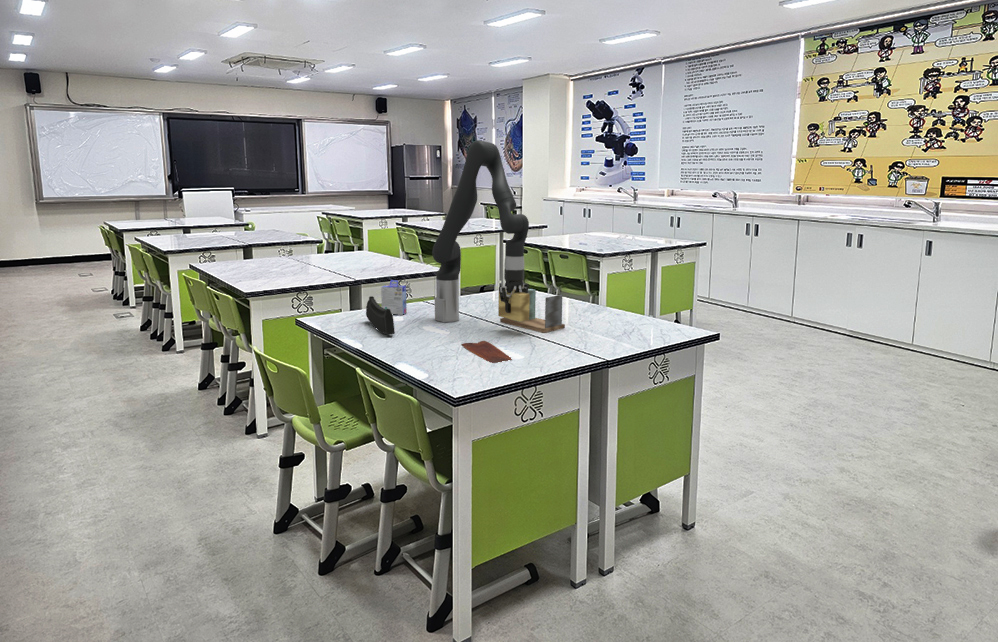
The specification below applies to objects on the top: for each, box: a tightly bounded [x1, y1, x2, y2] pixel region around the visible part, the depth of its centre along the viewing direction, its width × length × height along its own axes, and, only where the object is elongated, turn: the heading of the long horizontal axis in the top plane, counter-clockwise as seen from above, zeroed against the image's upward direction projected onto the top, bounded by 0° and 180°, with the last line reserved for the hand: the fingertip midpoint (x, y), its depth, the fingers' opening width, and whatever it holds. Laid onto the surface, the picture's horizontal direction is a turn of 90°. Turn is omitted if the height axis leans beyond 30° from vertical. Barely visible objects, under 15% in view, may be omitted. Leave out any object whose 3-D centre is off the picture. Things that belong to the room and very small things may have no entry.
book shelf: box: [499, 288, 566, 333], centre depth 275 cm, size 12×25×14 cm, turn 42°
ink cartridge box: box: [380, 279, 408, 316], centre depth 295 cm, size 10×6×14 cm, turn 80°
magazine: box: [365, 295, 396, 336], centre depth 267 cm, size 17×3×30 cm
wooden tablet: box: [460, 340, 513, 364], centre depth 235 cm, size 27×10×2 cm, turn 24°
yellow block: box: [497, 292, 530, 322], centre depth 262 cm, size 5×12×10 cm, turn 41°
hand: (513, 311), depth 262 cm, fingers closed on yellow block, 5 cm apart
